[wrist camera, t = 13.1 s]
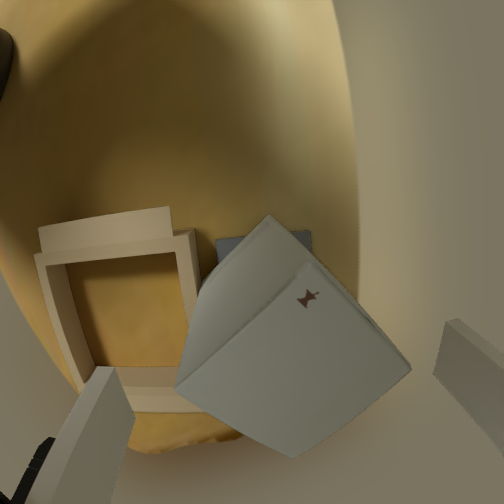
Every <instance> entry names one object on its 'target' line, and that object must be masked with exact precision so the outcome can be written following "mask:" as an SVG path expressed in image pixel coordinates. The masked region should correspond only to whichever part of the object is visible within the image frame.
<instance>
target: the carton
mask: <svg viewBox="0 0 504 504" xmlns="http://www.w3.org/2000/svg"><path fill="white" fill-rule="evenodd" d="M38 233H39V238H40V244H41V249H42V251H40V252H38V253H36V254H34V258H35V263H36V267H37V272H38V276H39V280H40V284H41V288H42V291H43V295H44V299H45V302H46V306H47V309H48V312H49V315H50V318H51V322H52V325H53V328H54V331H55V333H56V336H57V339H58V342H59V344H60V347H61V350H62V352H63V355H64V358H65V360H66V362H67V365H68V367H69V370H70V372H71V374H72V377H73V379H74V381H75V383H76V386H77V388H78V390H79V391H83V389H84V388H85V386H86V384H87V383H88V381H89V379H90V378H91V376H92V374H93V373H94V371H95V369H96V368H97V366H95V364H94V361H93V358H92V356H91V353H90V350H89V347H88V344H87V341H86V339H85V336H84V332H83V329H82V326H81V323H80V320H79V316H78V313H77V310H76V306H75V303H74V299H73V295H72V291H71V287H70V283H69V279H68V275H67V271H66V266H65V263H74V262H83V261H92V260H101V259H110V258H119V257H129V256H138V255H148V254H157V253H167V252H175V253H176V260H177V266H178V273H179V279H180V285H181V291H182V296H183V302H184V307H185V313H186V318H187V323H188V328H189V327H190V323H191V320H192V316H193V312H194V309H195V305H196V301H197V298H198V295H199V291H200V288H201V284H202V281H201V274H200V267H199V260H198V253H197V245H196V237H195V229H194V228H188V229H179V230H173V227H172V219H171V211H170V206H164V207H156V208H149V209H142V210H135V211H128V212H122V213H115V214H109V215H103V216H97V217H91V218H85V219H79V220H74V221H68V222H63V223H58V224H52V225H47V226H42V227H38ZM104 367H107V366H104ZM115 369H116V372H117V375H118V377H119V380H120V382H121V385H122V387H123V390H124V392H125V394H126V397H127V399H128V401H129V404H130V406H131V408H132V410H133V411H139V412H205V411H203V410H202V409H200V408H199V407H197V406H196V405H194V404H192V403H191V402H189V401H188V400H186V399H185V398H183V397H182V396H180V395H179V394H177V393H176V392H175V391H174V386H175V381H176V377H177V374H178V369H179V367H115Z"/></svg>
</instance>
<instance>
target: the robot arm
mask: <svg viewBox="0 0 504 504" xmlns="http://www.w3.org/2000/svg"><path fill="white" fill-rule="evenodd" d="M12 52H13V46H12V40H11V37H10V35H9V33H8V32H7V31H5V30H3V29H2V28H0V98H1V95H2V93H3V90H4V87H5V84H6V81H7V78H8V75H9V71H10V66H11V61H12ZM433 375H434V376H435V377H436V378H437V379H438V380H439V381H440V382H441V384H442V385H443V386H444V387H445V388H446V389H447V390H448V391H449V392H450V394H451V395H452V396H453V397H454V398H455V399H456V400H457V402H458V403H459V404H460V405H461V406H462V407H463V408H464V409H465V411H466V412H467V413H468V414H469V415H470V417H471V418H472V419H473V420H474V421H475V422H476V424H477V425H478V426H479V427H480V428H481V430H482V431H483V432H484V433H485V434H486V436H487V437H488V438H489V439H490V440H491V442H492V443H493V444H494V445H495V447H496V448H497V449H498V450H499V452H500V453H501V454H502V455H503V456H504V353H503V352H502V351H500V350H499V349H498V348H497V347H495V346H494V345H493V344H491V343H490V342H489V341H487V340H486V339H485V338H484V337H482V336H481V335H480V334H478V333H477V332H476V331H474V330H473V329H471V328H470V327H469V326H468V325H466V324H465V323H464V322H462V321H461V320H459V319H454V320H451V321H447V322H445V327H444V331H443V336H442V341H441V344H440V349H439V353H438V356H437V360H436V364H435V368H434V371H433ZM135 419H136V417H135V415H134V413H133V410H132V408H131V406H130V404H129V401H128V399H127V397H126V394H125V392H124V390H123V387H122V385H121V382H120V380H119V377H118V375H117V372H116V369H115V367H104V366H97V368H96V369H95V371H94V373H93V374H92V376H91V378H90V379H89V381H88V383H87V384H86V386H85V388H84V389H83V391H82V393H81V395H80V396H79V398H78V400H77V402H76V403H75V405H74V407H73V409H72V411H71V412H70V414H69V416H68V417H67V419H66V421H65V423H64V425H63V427H62V428H61V430H60V432H59V434H58V436H57V438H52V437H48V438H47V439H46V440H45V441H44V442H43V443H42V444H41V445H39V447H38V449H37V450H36V452H35V454H34V456H33V459H32V460H31V462H30V464H29V468H27V469H26V471H25V473H24V475H23V477H22V479H21V481H20V483H19V485H18V487H17V489H16V491H15V493H14V496H13V497H12V499H11V500H9V499H8V498H7V497H6V496H5V495H4V494H3V493H2V492H1V491H0V504H110V502H111V499H112V495H113V491H114V488H115V484H116V481H117V477H118V473H119V470H120V467H121V463H122V460H123V457H124V454H125V450H126V447H127V444H128V441H129V438H130V434H131V431H132V428H133V425H134V422H135Z"/></svg>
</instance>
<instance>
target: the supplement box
mask: <svg viewBox="0 0 504 504" xmlns="http://www.w3.org/2000/svg"><path fill="white" fill-rule="evenodd" d="M410 371H411V365H410V363H409V362H408V361H407V360H406V358H405V357H404V356H403V355H402V354H401V352H400V351H399V350H398V349H397V348H396V346H395V345H394V344H393V343H392V341H391V340H390V339H389V338H388V337H387V336H386V334H385V333H384V332H383V331H382V330H381V328H380V327H379V326H378V325H377V324H376V323H375V321H374V320H373V319H372V318H371V317H370V316H369V315H368V314H367V312H366V311H365V310H364V309H363V308H362V307H361V306H360V304H359V303H358V302H357V301H356V300H355V299H354V298H353V297H352V296H351V294H350V293H349V292H348V291H347V290H346V289H345V288H344V287H343V286H342V285H341V284H340V283H339V282H338V281H337V279H336V278H335V277H334V276H333V275H332V274H331V273H330V272H329V271H328V270H327V269H326V268H325V267H324V266H323V265H322V264H321V263H320V262H319V261H318V260H317V259H316V258H315V257H314V256H313V255H312V254H311V253H310V252H309V251H308V250H307V249H306V248H305V247H304V246H303V245H302V244H301V243H300V242H299V241H298V240H297V239H296V238H295V237H294V236H293V235H292V234H291V233H290V232H289V231H288V230H287V229H286V228H284V227H283V226H282V225H281V224H280V223H279V222H278V221H277V220H276V219H275V218H274V217H273V216H272V215H270V214H268V215H267V216H266V217H265V218H264V219H263V220H262V221H261V222H260V223H259V224H258V225H257V226H256V227H255V228H254V229H253V230H252V231H251V232H250V233H249V234H248V235H247V236H246V237H245V238H244V239H243V240H242V241H241V242H240V243H239V244H238V245H237V246H236V247H235V248H234V249H233V250H232V251H231V252H230V253H229V254H228V255H227V256H226V257H225V258H224V259H223V260H222V261H221V262H220V263H219V264H218V265H217V266H216V267H215V268H214V269H213V270H212V271H211V273H210V274H209V275H208V276H207V277H206V278H205V279H204V280H203V281H202V284H201V288H200V291H199V295H198V298H197V301H196V305H195V309H194V312H193V316H192V320H191V323H190V327H189V330H188V334H187V338H186V342H185V346H184V350H183V354H182V358H181V361H180V366H179V369H178V374H177V377H176V381H175V386H174V391H175V392H176V393H177V394H179V395H180V396H182V397H183V398H185V399H186V400H188V401H189V402H191V403H192V404H194V405H196V406H197V407H199V408H200V409H202V410H203V411H205V412H207V413H208V414H210V415H212V416H213V417H215V418H217V419H218V420H220V421H221V422H223V423H225V424H227V425H228V426H230V427H232V428H233V429H235V430H237V431H239V432H240V433H242V434H244V435H246V436H248V437H250V438H252V439H253V440H255V441H257V442H259V443H261V444H263V445H265V446H267V447H269V448H271V449H273V450H275V451H277V452H279V453H281V454H283V455H285V456H287V457H289V458H292V459H294V458H296V457H297V456H299V455H301V454H302V453H304V452H306V451H308V450H309V449H311V448H312V447H314V446H315V445H317V444H318V443H320V442H322V441H323V440H324V439H326V438H327V437H329V436H330V435H332V434H333V433H335V432H336V431H338V430H339V429H340V428H342V427H343V426H345V425H346V424H347V423H349V422H350V421H351V420H353V419H354V418H355V417H356V416H358V415H359V414H360V413H362V412H363V411H364V410H365V409H367V408H368V407H369V406H370V405H371V404H372V403H374V402H375V401H376V400H378V399H379V398H380V397H381V396H382V395H383V394H384V393H386V392H387V391H388V390H389V389H391V388H392V387H393V386H394V385H395V384H396V383H398V382H399V381H400V380H401V379H402V378H403V377H404V376H406V374H408V373H409V372H410Z"/></svg>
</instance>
